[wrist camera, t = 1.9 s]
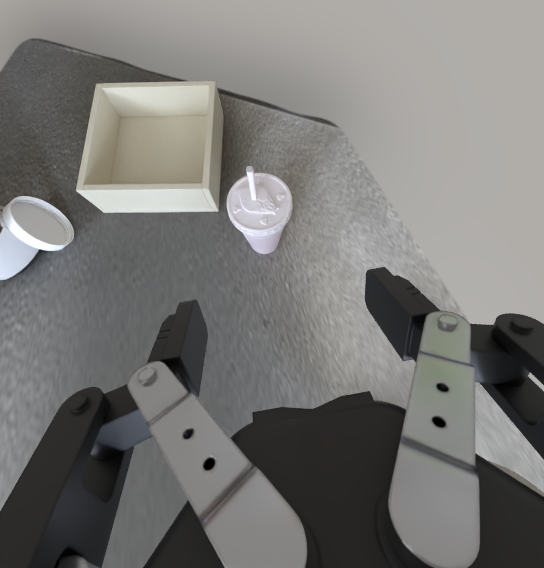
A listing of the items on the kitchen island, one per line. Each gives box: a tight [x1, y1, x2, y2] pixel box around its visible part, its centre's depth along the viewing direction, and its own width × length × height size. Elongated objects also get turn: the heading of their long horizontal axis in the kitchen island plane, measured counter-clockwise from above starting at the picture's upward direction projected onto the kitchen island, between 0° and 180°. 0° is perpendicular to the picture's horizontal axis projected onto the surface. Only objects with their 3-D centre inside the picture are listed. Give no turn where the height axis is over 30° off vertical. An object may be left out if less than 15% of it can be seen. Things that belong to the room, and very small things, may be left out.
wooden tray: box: [76, 81, 224, 213], centre depth 35 cm, size 16×16×5 cm
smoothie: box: [227, 166, 293, 254], centre depth 28 cm, size 6×6×14 cm
